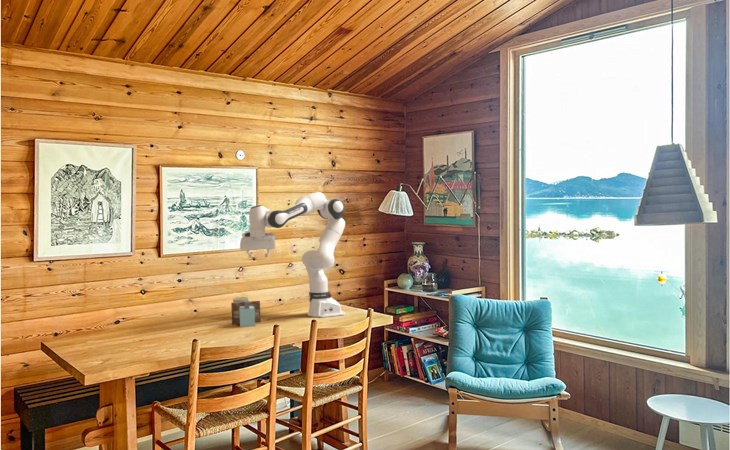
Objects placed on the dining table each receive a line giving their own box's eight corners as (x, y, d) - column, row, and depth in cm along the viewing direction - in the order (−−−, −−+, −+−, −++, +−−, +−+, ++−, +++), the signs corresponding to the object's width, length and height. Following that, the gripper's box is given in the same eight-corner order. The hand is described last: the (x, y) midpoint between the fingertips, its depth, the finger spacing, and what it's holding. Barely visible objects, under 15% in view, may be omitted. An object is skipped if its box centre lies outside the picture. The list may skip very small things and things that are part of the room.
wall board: (260, 321, 339) (259, 300, 338) (261, 323, 333) (260, 302, 333) (231, 323, 335) (231, 302, 334) (232, 325, 329) (231, 304, 328)
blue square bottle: (253, 322, 335) (253, 299, 334) (255, 326, 326) (254, 301, 325) (239, 324, 333) (238, 300, 332) (240, 327, 324) (239, 302, 323)
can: (250, 316, 357) (250, 296, 356) (246, 318, 348) (245, 298, 347) (236, 316, 358) (235, 296, 357) (231, 319, 348) (230, 298, 348)
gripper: (275, 232, 344) (275, 256, 344) (239, 233, 339) (240, 257, 339) (276, 233, 338) (276, 256, 338) (239, 234, 332) (240, 258, 333)
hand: (258, 257), depth 338 cm, fingers open, 8 cm apart
